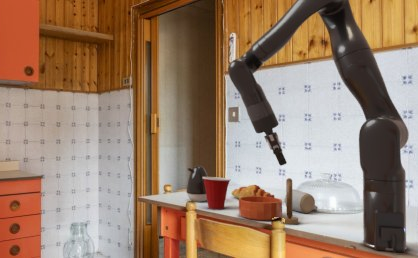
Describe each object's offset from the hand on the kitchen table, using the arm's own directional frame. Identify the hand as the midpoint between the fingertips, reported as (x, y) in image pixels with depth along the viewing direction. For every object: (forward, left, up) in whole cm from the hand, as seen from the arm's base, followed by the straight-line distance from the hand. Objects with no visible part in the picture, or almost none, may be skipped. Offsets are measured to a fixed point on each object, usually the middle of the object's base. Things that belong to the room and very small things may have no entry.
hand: (282, 161), depth 129 cm
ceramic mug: (+23, -8, -20) cm, 31 cm away
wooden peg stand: (+2, -2, -20) cm, 20 cm away
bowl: (+9, +7, -20) cm, 23 cm away
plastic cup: (+21, +23, -20) cm, 37 cm away
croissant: (+44, +10, -20) cm, 49 cm away
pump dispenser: (+35, +32, -20) cm, 51 cm away
